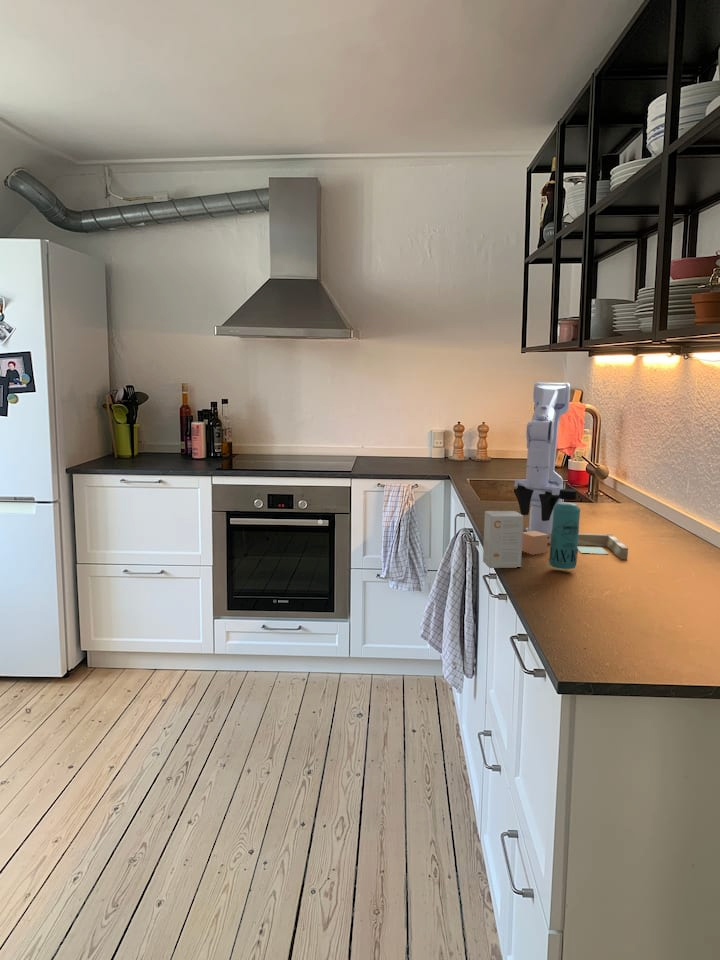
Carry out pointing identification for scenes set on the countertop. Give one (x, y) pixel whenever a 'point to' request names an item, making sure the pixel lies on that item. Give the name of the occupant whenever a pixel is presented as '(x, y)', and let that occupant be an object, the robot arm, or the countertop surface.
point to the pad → (591, 550)
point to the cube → (534, 542)
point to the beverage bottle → (565, 532)
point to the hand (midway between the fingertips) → (534, 517)
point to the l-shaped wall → (602, 543)
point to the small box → (503, 539)
